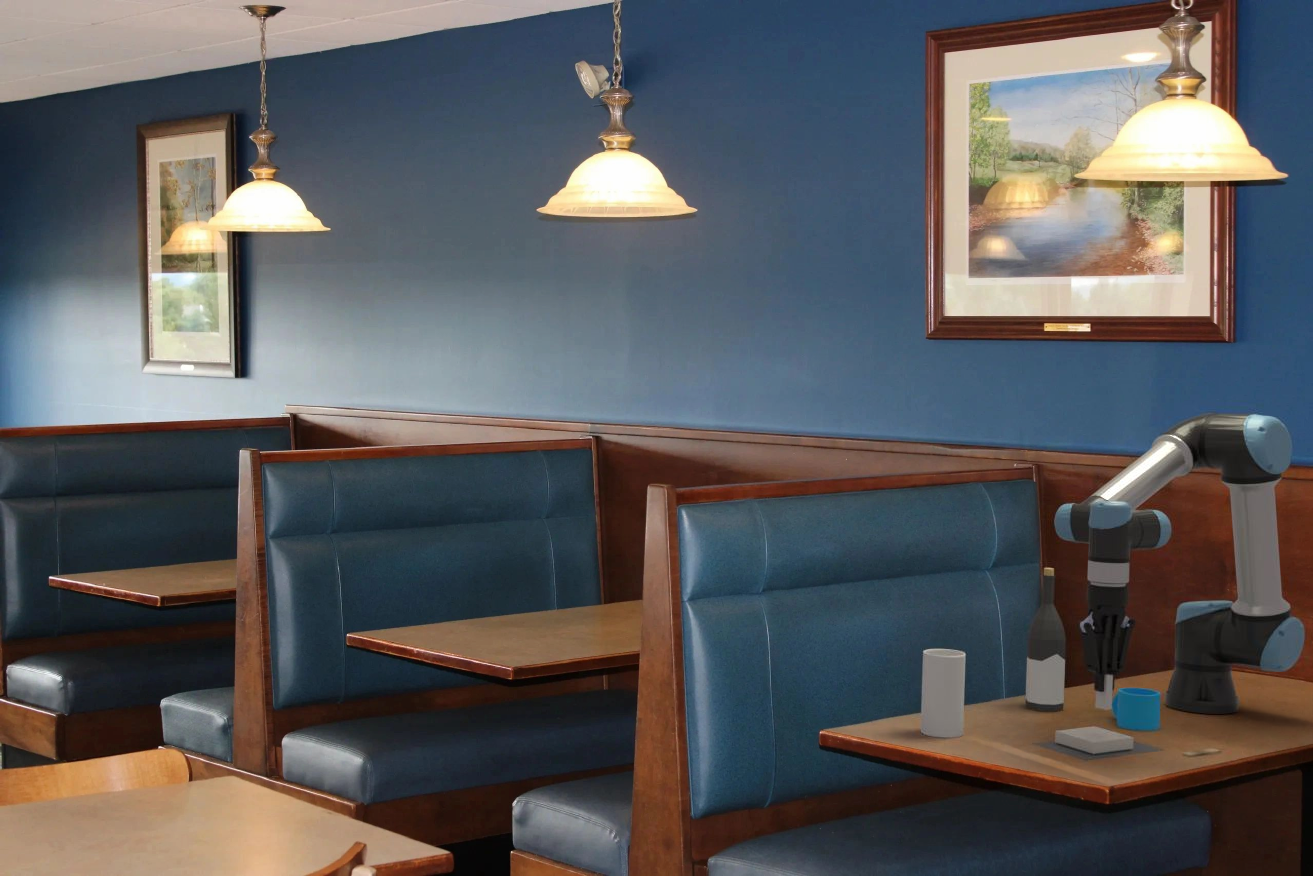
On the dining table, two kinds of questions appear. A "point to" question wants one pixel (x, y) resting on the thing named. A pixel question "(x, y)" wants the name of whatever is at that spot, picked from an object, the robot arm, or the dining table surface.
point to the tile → (1094, 740)
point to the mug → (1137, 708)
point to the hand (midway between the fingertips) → (1103, 708)
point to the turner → (1201, 752)
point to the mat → (1136, 749)
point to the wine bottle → (1046, 654)
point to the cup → (943, 693)
